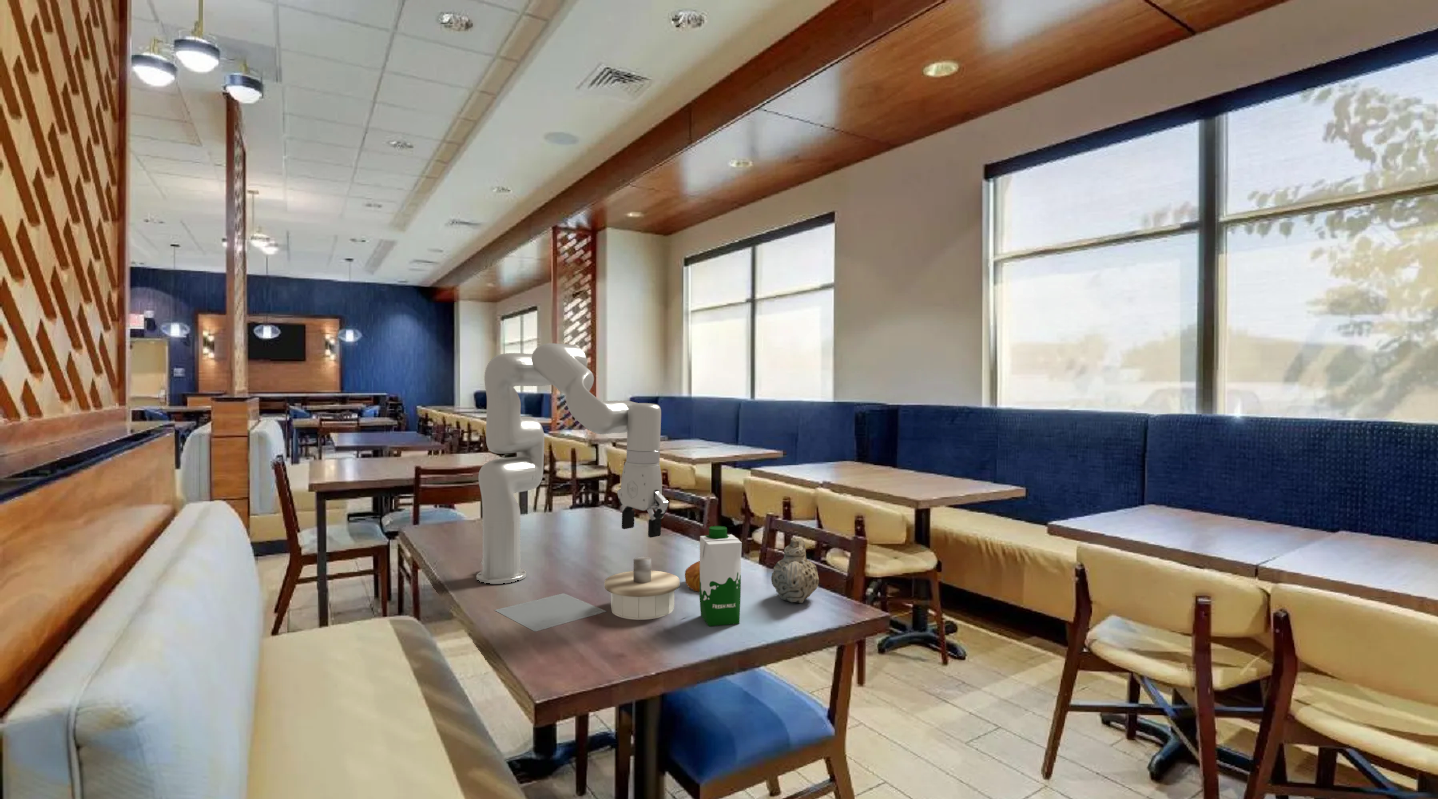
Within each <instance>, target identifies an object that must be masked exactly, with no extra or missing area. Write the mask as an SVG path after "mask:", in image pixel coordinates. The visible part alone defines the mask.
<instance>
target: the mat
mask: <svg viewBox="0 0 1438 799" xmlns="http://www.w3.org/2000/svg"><path fill="white" fill-rule="evenodd" d="M494 612H497V613H498V614H500V615H502V616H504V617H506V618H508V619H510V620H512V621H514V622H516V623H517V624H519V625H521V626H523V627H525V628H527V629H529V630H530V631H533V632H534V633H536V632H539V631H543V630H547V629H549V628H554V627H558V626H561V625H564V624H568V623H571V622H575V621H578V620H582V619H586V618H590V617H592V616H596V615H600V614H603V613H607V612H608V611H607V610H605V609H602V608H600V607H598V606H596V605H592V604H591V603H589V602H586V601H583V600H582V599H578V598H576V597H574V596H572V595H569V594H567V593H564V592H562V593H560V594H554V595H551V596H550V595H549V596H545V597H543V598H538V599H535V600H530V601H526V602H520V603H518V604H513V605H509V606H506V607H502V608H497V609H494Z"/></svg>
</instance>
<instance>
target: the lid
mask: <svg viewBox="0 0 1438 799" xmlns="http://www.w3.org/2000/svg"><path fill="white" fill-rule="evenodd" d="M678 588H680V578H679V577H678V576H677V575H675V574H672V573H669V572H665V571H660V570H659V571H658V570H652V558H651V557H650V556H638V557H634V558H633V570H631V571H623V572H619V573H615V574H612V575H610V576H608V577H607V578H606V579H605V580H604V589H605V591H607V592H608V593H610V594H611V593H613V594H616V595H621V596H629V597H649V596H658V595H663V594H667V593H670V592H673V591H674V592H675V591H677V589H678Z"/></svg>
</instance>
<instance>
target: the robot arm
mask: <svg viewBox="0 0 1438 799" xmlns="http://www.w3.org/2000/svg"><path fill="white" fill-rule="evenodd" d="M587 366H588V359H587V356H586V353H585V352H584V350H583V349H582V348H580V347H579V346H577V345H574V344H567V343H557V342H556V343H554V342H547V343H543V344H540V345H539V346H537V347H536V348H535V349H534V350H533V352H532V353H525V352H524V353H523V352H508V353H507V352H506V353H500V354H497V355H495V356H494V357H493V358H491V359H490V361H488V363H487V366H486V367H485V371H484V375H483V377H484V379H483V380H484V388H485V394H486V421H485V442H486V446H487V449H488V450H489V451H490V452H491V453H494V454H501V455H502V454H514V453H515V454H516V456H514V457H512V456H511V457H503V458H495V459H492V460H489V461H488V462H485V463H484V464H483V465H482V466H481V468H480V470H479V472H478V478H477V479H478V485H479V489H480V490H479V491H480V495H481V504H482V506H481V507H482V560H481V561H480V564H481V565H482V570H481V571H479V572H478V573H477V574H476V581H477V580H479V581H480V582H479V581H478V582H479V583H481V582H484V583H483V584H486V583H490V584H489V585H504V584H503V583H505V584H509V583H510V584H511V582H512V583H516V582H518V581H517V580H519V581H521V580H524V579H525V578H526V577H527V571H526V570H525V569H524V568H521V508H520V505H519V503H518V501H517V499H516V497H515V495H514V494H517V493H522V492H527V491H528V492H529V491H531V490H534V489H536V488H538V487H539V486H540V485H541V482H542V480H543V476H544V459H545V432H544V429H543V426H542V425H541V422H540V421H539V420H538V419H536V418H534V417H532V416H522V415H521V407H522V406H521V405H522V403H521V399H520V396H519V394H518V392H517V390H516V389H515V387H545V386H546V387H547V386H551V385H552V386H553V387H554V388H555V389H557V390H558V391H559V392H560V393H561V394H563V395H564V396H565V402H566V406H567V409H568V411H569V413H570V414H571V416H572V417H573V418H574V419H575V420H576V421H578V422H579V423H580V424H581V425H582V426H583V427H584V428H585V429H587V430H588V431H590V432H592V433H594V434H597V435H610V434H611V435H612V434H624V433H626V435H627V436H626V458H625V459H626V461H625V462H624V464H623V465H624V466H623V468H622V469H623V470H622V474H621V480H620V481H621V482H620V488H619V489H617V491H616V492H617V493H616V494H617V497H618V503H619V505H620V511H621V529H623V530H628V529H633V528H635V510H633V509H636V510H639V511H647V513H648V515H649V519H648V524H647V525H648V529H647V531H648V532H647V537H648V538H656V537H661V535H662V534H661V533H662V519H663V518H664V516H665V514H666V512H667V509H668V507H669V505H670V504H669V501H668V500H667V498H666V497H665V496H664V495H663V483H662V482H663V481H662V471H661V470H662V469H661V465H660V457H661V431H662V429H661V428H662V427H661V425H662V424H661V423H662V409H661V406H660V405H659V404H657V403H650V402H649V403H648V402H639V403H638V402H634V401H631V400H601V399H599V398H598V397H596V396H595V395H594V394H593V393H592V392H590V391H591V389H592V387H593V384H594V382H595V381H594V380H595V377H594V374H593V372H592V371H591V370H590V369H589V368H588V367H587ZM654 511H655V512H654ZM515 581H516V582H515Z"/></svg>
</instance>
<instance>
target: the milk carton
mask: <svg viewBox="0 0 1438 799" xmlns="http://www.w3.org/2000/svg"><path fill="white" fill-rule="evenodd" d="M742 543H743V542H742V541H740V539H739V538H738V537H736V536H735V535H733V534H732V533H731V534H728V528H727V527H726V526H723V525H711V526H709V528H708V534H707V535H700V536H699V561H700V589H699V592H698V593H699V594H698V595H699V607H700V617H701V618H702V619H703V621H704V622H705V623H706V625H707V626H708V627H717V626H726V625H739V624H740V620H741V619H740V618H741V599H742V598H741V595H742V594H741V590H742V587H741V585H742V584H741V583H742V582H741V581H742V579H741V578H742V546H743V544H742Z"/></svg>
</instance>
